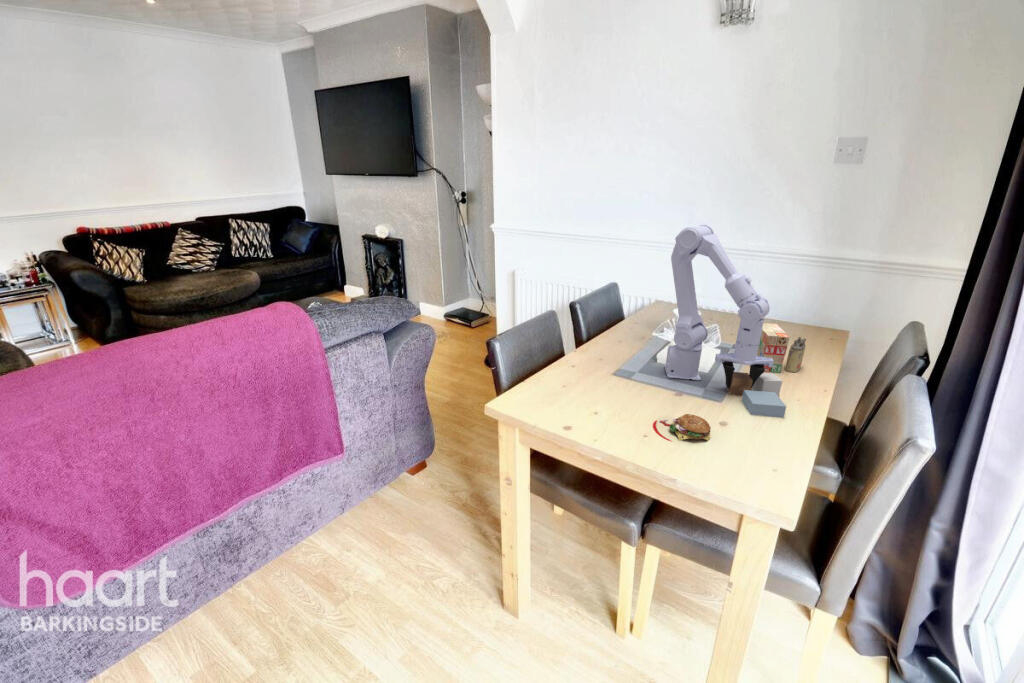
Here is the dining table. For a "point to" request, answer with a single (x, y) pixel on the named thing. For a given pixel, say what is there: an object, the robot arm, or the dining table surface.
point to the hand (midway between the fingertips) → (738, 387)
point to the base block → (763, 403)
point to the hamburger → (687, 427)
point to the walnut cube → (739, 383)
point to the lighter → (795, 355)
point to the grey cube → (768, 383)
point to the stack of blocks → (773, 346)
